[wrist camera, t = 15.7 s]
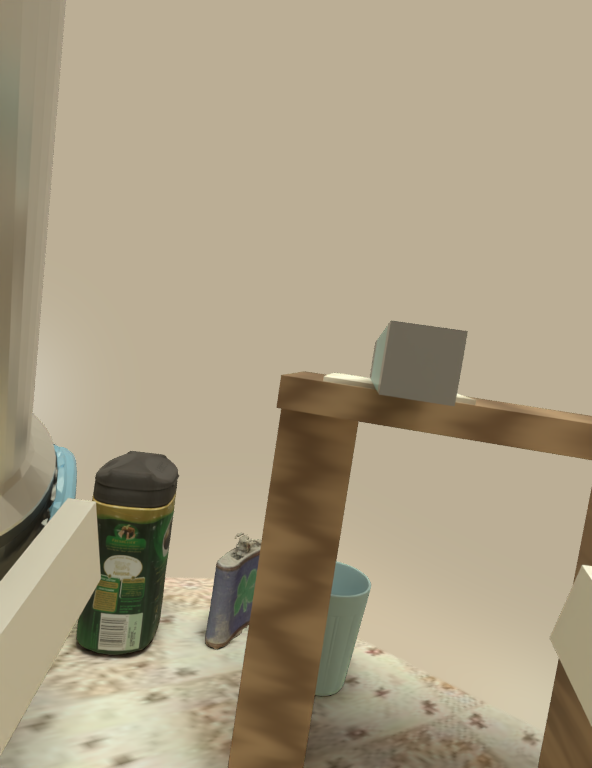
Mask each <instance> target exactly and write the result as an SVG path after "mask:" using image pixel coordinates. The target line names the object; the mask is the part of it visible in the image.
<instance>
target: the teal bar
mask: <svg viewBox="0 0 592 768" xmlns="http://www.w3.org/2000/svg"><path fill="white" fill-rule="evenodd" d="M466 338H467V331H462V330H455V329H448V328H440V327H433V326H426V325H419V324H412V323H405V322H397V321H390V323H389V324H388V326H387V327H386V328H385V330H384V331H383V333H382V334H381V335H380V337H379V338H378V340H377V341H376V343H375V348H374V354H373V361H372V368H371V374H370V379H371V381H372V383H373V384H374V386H375V388H376V390H377V392H378V393H379V395H386V396H392V397H398V398H405V399H411V400H417V401H424V402H430V403H436V404H443V405H449V406H455V402H456V396H457V390H458V384H459V379H460V373H461V367H462V361H463V356H464V350H465V344H466Z"/></svg>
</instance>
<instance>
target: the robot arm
mask: <svg viewBox="0 0 592 768" xmlns="http://www.w3.org/2000/svg"><path fill="white" fill-rule="evenodd" d="M65 4H66V0H0V756H1V754H2V752H3V750H4V748H5V747H6V745H7V743H8V741H9V740H10V738H11V736H12V734H13V733H14V731H15V729H16V727H17V726H18V724H19V722H20V720H21V719H22V717H23V715H24V713H25V711H26V710H27V708H28V706H29V704H30V703H31V701H32V699H33V697H34V696H35V694H36V692H37V690H38V689H39V687H40V685H41V683H42V682H43V680H44V678H45V676H46V674H47V673H48V671H49V669H50V667H51V666H52V664H53V662H54V660H55V659H56V657H57V655H58V653H59V652H60V650H61V648H62V646H63V645H64V643H65V641H66V639H67V637H68V636H69V634H70V632H71V630H72V629H73V627H74V625H75V623H76V622H77V620H78V618H79V616H80V615H81V613H82V611H83V609H84V608H85V606H86V604H87V602H88V600H89V599H90V597H91V595H92V593H93V592H94V590H95V588H96V586H97V585H98V583H99V581H100V579H101V572H100V557H99V542H98V526H97V511H96V502H95V501H87V500H79V499H75V496H76V482H77V479H76V478H77V477H76V476H77V469H76V460H75V457H74V455H73V453H72V452H70V451H69V450H68V449H66V448H64V447H58V446H56V445H55V444H53V441H52V437H51V436H50V434H49V432H48V430H47V428H46V427H45V426H44V425H43V423H42V422H41V421H40V420H39V419H38V418H37V417H36V416H35V415H34V414H33V413H32V412H33V400H34V388H35V376H36V364H37V351H38V338H39V326H40V314H41V302H42V289H43V277H44V265H45V252H46V240H47V227H48V215H49V203H50V190H51V177H52V164H53V153H54V141H55V128H56V116H57V102H58V91H59V78H60V66H61V54H62V41H63V28H64V17H65ZM550 640H551V642H552V644H553V647H554V649H555V651H556V653H557V655H558V657H559V659H560V661H561V663H562V665H563V668H564V670H565V672H566V674H567V676H568V678H569V680H570V682H571V684H572V686H573V689H574V691H575V693H576V695H577V697H578V699H579V701H580V703H581V705H582V707H583V710H584V712H585V714H586V716H587V718H588V720H589V722H590V724H591V726H592V566H587V565H582V566H581V568H580V570H579V573H578V575H577V577H576V579H575V582H574V584H573V586H572V588H571V591H570V593H569V595H568V598H567V600H566V602H565V604H564V607H563V609H562V611H561V613H560V615H559V618H558V620H557V622H556V625H555V627H554V629H553V631H552V633H551V636H550Z"/></svg>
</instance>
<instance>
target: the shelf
mask: <svg viewBox="0 0 592 768" xmlns="http://www.w3.org/2000/svg"><path fill="white" fill-rule="evenodd" d="M277 408H281V415H280V422H279V428H278V435H277V441H276V448H275V455H274V462H273V469H272V475H271V482H270V488H269V495H268V502H267V509H266V515H265V522H264V529H263V536H262V542H261V549H260V555H259V562H258V569H257V575H256V582H255V589H254V596H253V602H252V609H251V616H250V622H249V629H248V636H247V642H246V649H245V656H244V663H243V669H242V676H241V683H240V689H239V696H238V703H237V709H236V716H235V723H234V730H233V736H232V743H231V750H230V756H229V763H228V768H303V766H304V760H305V753H306V747H307V741H308V734H309V728H310V722H311V716H312V709H313V703H314V697H315V691H316V684H317V678H318V672H319V666H320V659H321V653H322V647H323V641H324V634H325V628H326V622H327V615H328V609H329V603H330V597H331V590H332V584H333V578H334V572H335V565H336V559H337V553H338V547H339V540H340V534H341V528H342V521H343V515H344V509H345V502H346V496H347V490H348V484H349V477H350V471H351V465H352V459H353V453H354V446H355V440H356V433H357V427H358V421H359V422H365V423H371V424H377V425H383V426H390V427H395V428H401V429H408V430H413V431H420V432H426V433H431V434H438V435H444V436H450V437H456V438H462V439H468V440H474V441H480V442H486V443H492V444H498V445H504V446H510V447H516V448H522V449H528V450H534V451H540V452H546V453H552V454H558V455H564V456H570V457H576V458H582V459H588V460H592V416H588V415H582V414H575V413H569V412H562V411H556V410H550V409H543V408H536V407H530V406H524V405H517V404H511V403H504V402H497V401H492V400H485V399H479V398H472V397H465V396H462V395H459V394H457V396H456V402H455V406H449V405H443V404H436V403H430V402H424V401H417V400H411V399H405V398H398V397H392V396H386V395H379V393H378V392H377V390H376V388H375V386H374V384H373V383H372V381H371V379H370V378H366V377H360V376H353V375H346V374H339V373H332V374H329V375H324V374H318V373H311V372H298V373H292V374H286V375H281V382H280V388H279V394H278V401H277ZM582 565H587V566H592V489H591V494H590V499H589V504H588V510H587V515H586V520H585V526H584V530H583V536H582V541H581V546H580V551H579V556H578V562H577V568H576V572H575V577H574V582H575V579H576V577H577V575H578V573H579V570H580V568H581V566H582ZM573 584H574V583H573ZM538 768H592V726H591V724H590V722H589V720H588V718H587V716H586V714H585V712H584V710H583V707H582V705H581V703H580V701H579V699H578V697H577V695H576V693H575V691H574V689H573V686H572V684H571V682H570V680H569V678H568V676H567V674H566V672H565V670H564V668H563V665H562V663H561V661H560V659H559V660H558V666H557V671H556V676H555V681H554V686H553V691H552V697H551V702H550V707H549V712H548V718H547V723H546V728H545V733H544V738H543V743H542V749H541V754H540V759H539V764H538Z"/></svg>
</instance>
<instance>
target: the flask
mask: <svg viewBox="0 0 592 768" xmlns="http://www.w3.org/2000/svg"><path fill="white" fill-rule="evenodd" d="M243 534H244V533H239V534H237V536H238V537H239V536H241V535H243ZM235 539H236V537H235ZM248 539H249V537H248V536H247V535H244V536H242V537H240V538H239V542H238V544H237V545H236V548H234V549H233V550H231V551H229V552H228V553H226V554H225V555H224V556H223V557H221V558H220V560H218V562H217V564H216V572H215V578H214V586H213V592H212V599H211V606H210V612H209V617H208V624H207V631H206V637H205V641H206V643H205V644H206V645H207V646H208V647H213V648H214V649H215V650H216V649H218V648H220V647H224V646H226V645H228V644H229V643H230V642H229V641H230V640H232V639H233V638H234V637H237V636H238V635H240V633H242V629H243V628H247V626H248V624H249V622H250V616H251V609H252V602H253V596H254V589H255V582H256V575H257V569H258V562H259V555H260V549H261V542H262V540H259V539H257V540H255V539H254V540H252V539H250V540H248ZM207 642H208V643H207ZM208 644H209V645H210V646H209V645H208Z"/></svg>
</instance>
